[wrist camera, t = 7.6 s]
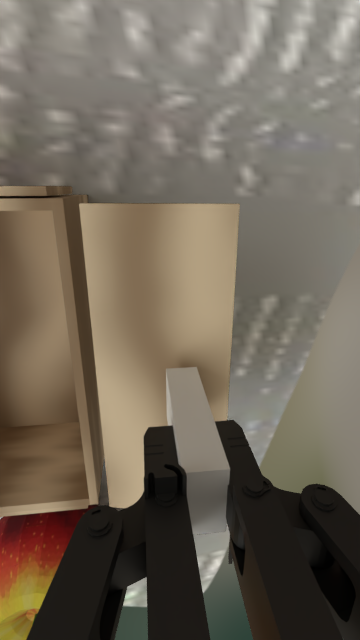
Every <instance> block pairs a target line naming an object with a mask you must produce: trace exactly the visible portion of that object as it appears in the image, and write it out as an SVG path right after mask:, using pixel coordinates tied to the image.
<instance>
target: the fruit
mask: <svg viewBox="0 0 360 640" xmlns="http://www.w3.org/2000/svg"><path fill="white" fill-rule="evenodd" d="M97 506H98V505H97V504H93V505H88V508H86V509H75V510H65V511H55V512H45V513H35V514H24V515H14V516H4V517H3V518H2V519H1V520H0V640H26V639H27V636H28V634H29V632H30V629H31V627H32V625H33V623H34V620H35V618H36V616H37V614H38V611H39V609H40V607H41V605H42V602H43V600H44V598H45V595H46V593H47V591H48V589H49V586H50V584H51V582H52V580H53V577H54V575H55V573H56V571H57V568H58V566H59V564H60V561H61V559H62V557H63V555H64V552H65V550H66V548H67V546H68V543H69V541H70V539H71V536H72V534H73V532H74V530H75V527H76V525H77V523H78V521H79V520H80V518H81V517H82V515H83V514H85V513H86V512H87V511H89V510H90V509H92V508H95V507H97Z"/></svg>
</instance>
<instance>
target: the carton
mask: <svg viewBox="0 0 360 640" xmlns="http://www.w3.org/2000/svg"><path fill="white" fill-rule="evenodd" d="M62 194H72V187H68V186H0V517H4V516H14V515H24V514H35V513H45V512H55V511H65V510H75V509H86V508H88V505H93V504H98V502H99V494H100V486H101V478H102V470H103V462H104V446H103V436H102V426H101V416H100V406H99V397H98V387H97V377H96V367H95V357H94V347H93V337H92V327H91V317H90V307H89V297H88V287H87V277H86V267H85V257H84V247H83V238H82V228H81V218H80V208H79V204H80V203H88V195H62Z"/></svg>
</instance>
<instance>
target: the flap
mask: <svg viewBox="0 0 360 640" xmlns="http://www.w3.org/2000/svg"><path fill="white" fill-rule="evenodd" d="M239 207H240V204H184V203H80V204H79V208H80V218H81V228H82V238H83V247H84V257H85V267H86V277H87V287H88V297H89V307H90V317H91V327H92V337H93V347H94V357H95V367H96V377H97V387H98V397H99V406H100V416H101V426H102V436H103V446H104V456H105V466H106V476H107V486H108V496H109V506H110V507H115V508H128V507H130V506H131V505H133V504H134V503H136V502H137V501H138V500H139V499H140V497H141V496H142V494H143V492H144V434H145V432H146V431H147V429H148V427H157V426H168V421H167V401H166V369H168V368H186V367H197V370H198V373H199V376H200V379H201V382H202V385H203V388H204V391H205V394H206V397H207V400H208V403H209V406H210V409H211V412H212V415H213V418H214V421H227V412H228V395H229V378H230V361H231V344H232V327H233V310H234V293H235V276H236V259H237V241H238V224H239Z"/></svg>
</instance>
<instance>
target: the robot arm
mask: <svg viewBox="0 0 360 640" xmlns="http://www.w3.org/2000/svg"><path fill="white" fill-rule="evenodd" d="M166 401H167V421H168V426H157V427H148V429H147V431H146V432H145V434H144V492H143V494H142V496H141V497H140V499H139V500H138V501H137V502H136V503H134V504H133V505H131V506H130V507H128V508H125V509H123V510H120V511H117V510H116V509H115V508H113V507H110V506H97V507H95V508H92V509H90V510H89V511H87V512H86V513H85V514H83V515H82V517H81V518H80V520H79V521H78V523H77V525H76V527H75V530H74V532H73V534H72V536H71V539H70V541H69V543H68V546H67V548H66V550H65V552H64V555H63V557H62V559H61V561H60V564H59V566H58V568H57V571H56V573H55V575H54V577H53V580H52V582H51V584H50V586H49V589H48V591H47V593H46V595H45V598H44V600H43V602H42V605H41V607H40V609H39V611H38V614H37V616H36V618H35V620H34V623H33V625H32V627H31V629H30V632H29V634H28V636H27V639H26V640H114V639H115V634H116V631H117V627H118V623H119V618H120V614H121V610H122V606H123V602H124V598H125V594H126V590H127V586H129V585H131V584H133V583H135V582H137V581H139V580H141V579H143V578H145V577H147V608H148V640H210V635H209V629H208V623H207V617H206V611H205V605H204V598H203V592H202V586H201V580H200V574H199V568H198V562H197V556H196V549H195V543H194V537H193V535H198V534H207V533H216V532H225V531H226V524H228V528H229V531H230V542H229V556H228V557H229V564H232V559H233V561H234V566H235V570H236V573H237V577H238V581H239V585H240V589H241V593H242V597H243V601H244V605H245V609H246V613H247V617H248V621H249V625H250V629H251V632H252V636H253V640H343V639H344V640H360V515H359V514H358V513H357V512H356V511H355V510H354V509H353V508H352V506H351V505H350V504H349V503H348V502H347V501H346V500H345V499H344V498H343V497H342V496H341V495H340V494H339V493H337V492H336V491H335V490H333V489H332V488H330V487H327V486H325V485H320V484H312V485H308V486H306V487H305V488H304V489H303V491H302V493H301V494H300V493H293V492H289V491H284V490H281V489H278V488H276V487H274V486H273V485H272V483H271V482H270V481H269V480H268V479H267V478H265V477H264V476H263V475H262V474H261V471H260V469H259V467H258V464H257V462H256V460H255V458H254V455H253V453H252V451H251V448H250V446H249V444H248V441H247V439H246V437H245V435H244V432H243V430H242V428H241V427H240V426H239V425H238V424H237V423H236V422H235V421H234V420H227V421H214V418H213V415H212V412H211V409H210V406H209V403H208V400H207V397H206V394H205V391H204V388H203V385H202V382H201V379H200V376H199V373H198V370H197V367H186V368H168V369H166ZM342 637H343V638H342Z"/></svg>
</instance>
